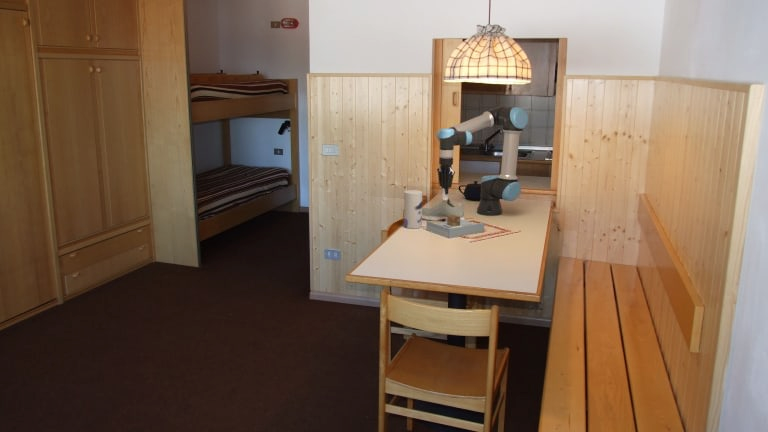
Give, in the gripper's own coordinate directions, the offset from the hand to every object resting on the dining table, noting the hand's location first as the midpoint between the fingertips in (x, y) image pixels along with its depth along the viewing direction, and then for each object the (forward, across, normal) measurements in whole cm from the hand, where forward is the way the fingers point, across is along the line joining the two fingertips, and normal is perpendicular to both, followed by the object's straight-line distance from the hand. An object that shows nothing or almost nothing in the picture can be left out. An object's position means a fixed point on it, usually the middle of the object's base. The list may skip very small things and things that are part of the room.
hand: (444, 199), depth 364 cm
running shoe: (+16, +15, -10) cm, 24 cm away
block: (+13, -7, -1) cm, 15 cm away
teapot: (+16, +47, -65) cm, 82 cm away
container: (+16, +11, +13) cm, 24 cm away
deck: (+16, -9, -1) cm, 18 cm away
